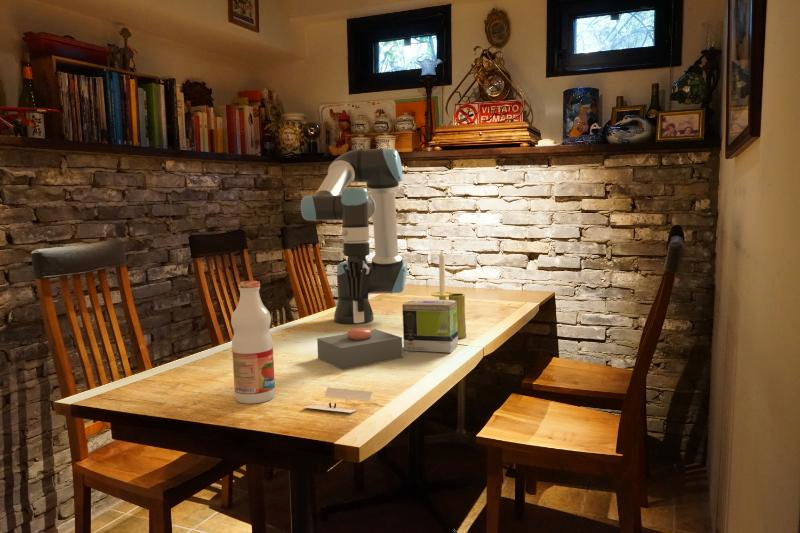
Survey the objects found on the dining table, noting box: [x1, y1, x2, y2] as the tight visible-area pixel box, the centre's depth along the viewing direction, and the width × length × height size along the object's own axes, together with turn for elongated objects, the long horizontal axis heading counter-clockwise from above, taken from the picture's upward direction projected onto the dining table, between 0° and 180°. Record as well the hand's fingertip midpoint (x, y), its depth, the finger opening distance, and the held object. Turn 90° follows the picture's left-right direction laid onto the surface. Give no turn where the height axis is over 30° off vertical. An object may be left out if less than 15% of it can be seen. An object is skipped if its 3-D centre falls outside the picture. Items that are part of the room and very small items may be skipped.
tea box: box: [401, 299, 459, 354], centre depth 189 cm, size 15×10×15 cm, turn 71°
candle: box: [431, 249, 455, 300], centre depth 232 cm, size 10×10×27 cm
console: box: [316, 328, 403, 371], centre depth 181 cm, size 15×20×6 cm
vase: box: [448, 292, 467, 340], centre depth 204 cm, size 6×6×14 cm
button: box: [346, 327, 372, 341], centre depth 180 cm, size 7×7×8 cm
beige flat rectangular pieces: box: [303, 387, 373, 413], centre depth 141 cm, size 12×12×2 cm
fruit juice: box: [230, 280, 276, 405], centre depth 145 cm, size 9×9×28 cm
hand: (359, 322), depth 180 cm, fingers closed
